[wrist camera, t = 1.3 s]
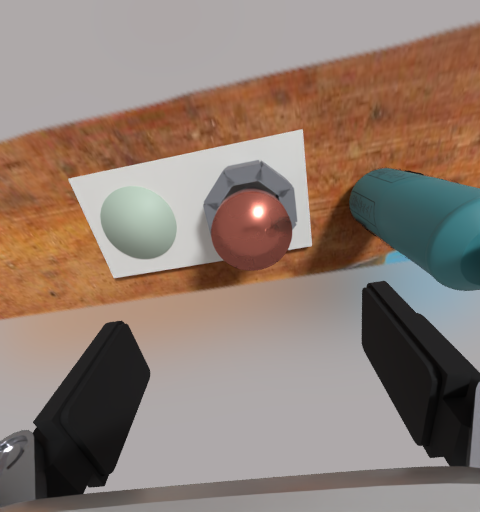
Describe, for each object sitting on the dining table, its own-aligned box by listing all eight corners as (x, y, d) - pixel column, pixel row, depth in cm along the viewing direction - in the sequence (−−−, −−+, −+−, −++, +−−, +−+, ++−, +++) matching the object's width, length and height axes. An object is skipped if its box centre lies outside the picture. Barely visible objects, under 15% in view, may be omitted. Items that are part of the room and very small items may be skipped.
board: (300, 129, 27) (311, 128, 22) (310, 243, 32) (320, 260, 28) (73, 177, 29) (42, 185, 25) (117, 274, 35) (98, 295, 30)
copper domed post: (282, 177, 28) (299, 198, 19) (274, 232, 31) (285, 273, 22) (224, 172, 28) (212, 189, 19) (220, 227, 31) (209, 266, 21)
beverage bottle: (332, 212, 30) (457, 327, 12) (359, 155, 28) (571, 194, 10) (382, 228, 31) (569, 358, 13) (413, 173, 28) (707, 242, 10)
